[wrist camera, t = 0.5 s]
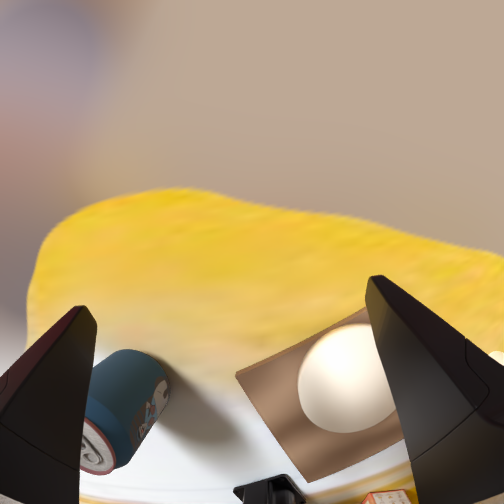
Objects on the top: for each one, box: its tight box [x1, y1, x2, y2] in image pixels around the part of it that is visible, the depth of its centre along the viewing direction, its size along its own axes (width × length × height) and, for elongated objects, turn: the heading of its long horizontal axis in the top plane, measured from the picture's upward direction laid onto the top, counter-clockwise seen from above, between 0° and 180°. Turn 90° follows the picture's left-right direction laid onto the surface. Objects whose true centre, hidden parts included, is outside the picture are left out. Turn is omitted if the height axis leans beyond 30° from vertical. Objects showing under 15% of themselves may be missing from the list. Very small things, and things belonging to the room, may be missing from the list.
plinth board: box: [235, 307, 404, 483], centre depth 23 cm, size 16×16×3 cm
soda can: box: [80, 349, 170, 475], centre depth 19 cm, size 7×7×12 cm
